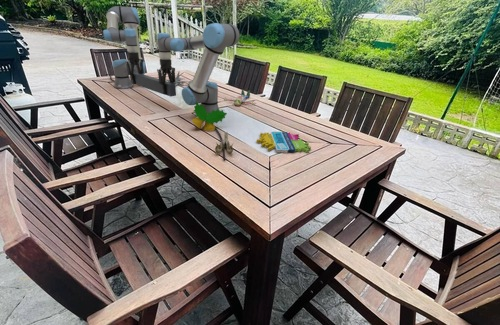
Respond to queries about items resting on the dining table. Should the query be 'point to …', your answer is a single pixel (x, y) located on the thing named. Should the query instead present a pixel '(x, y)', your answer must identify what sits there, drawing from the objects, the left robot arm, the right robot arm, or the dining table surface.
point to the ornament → (207, 117)
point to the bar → (153, 84)
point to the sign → (283, 142)
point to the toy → (241, 99)
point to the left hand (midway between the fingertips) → (137, 83)
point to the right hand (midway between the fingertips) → (168, 93)
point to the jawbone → (224, 145)
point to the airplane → (177, 80)
